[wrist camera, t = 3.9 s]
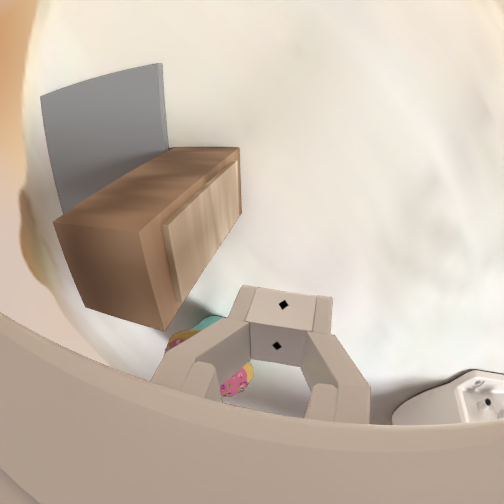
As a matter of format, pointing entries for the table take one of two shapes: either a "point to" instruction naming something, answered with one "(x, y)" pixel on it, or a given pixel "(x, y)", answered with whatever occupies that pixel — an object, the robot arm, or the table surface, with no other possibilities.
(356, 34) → the table surface
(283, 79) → the table surface
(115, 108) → the mat
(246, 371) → the cupcake
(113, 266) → the walnut block
